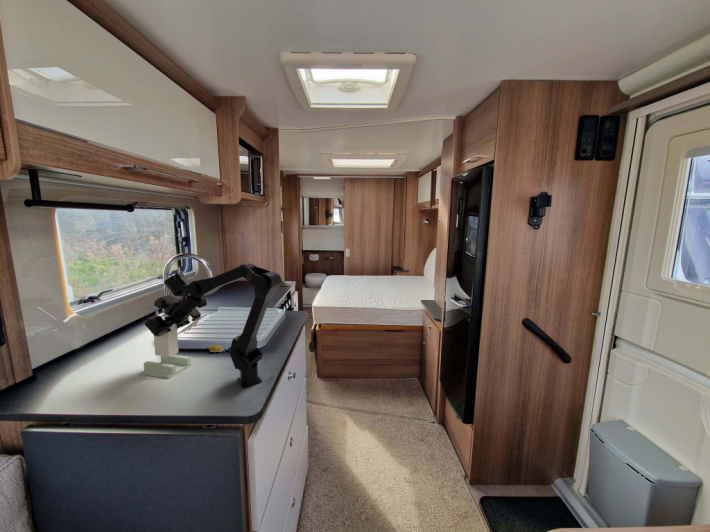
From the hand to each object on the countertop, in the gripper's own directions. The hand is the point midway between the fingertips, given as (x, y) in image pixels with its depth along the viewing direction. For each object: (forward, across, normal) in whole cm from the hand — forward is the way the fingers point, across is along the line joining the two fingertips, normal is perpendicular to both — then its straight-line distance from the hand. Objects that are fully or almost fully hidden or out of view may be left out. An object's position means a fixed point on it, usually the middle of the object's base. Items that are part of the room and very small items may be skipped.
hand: (162, 333), depth 100 cm
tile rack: (+9, 0, +10) cm, 13 cm away
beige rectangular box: (+4, 0, +6) cm, 8 cm away
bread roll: (+5, -20, +15) cm, 25 cm away
